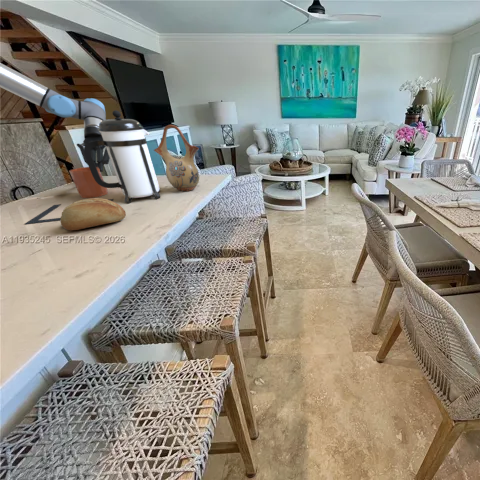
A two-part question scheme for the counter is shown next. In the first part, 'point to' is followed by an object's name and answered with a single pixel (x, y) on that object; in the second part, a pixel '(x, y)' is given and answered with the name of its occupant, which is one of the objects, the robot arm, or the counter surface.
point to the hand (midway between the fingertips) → (97, 178)
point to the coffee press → (126, 158)
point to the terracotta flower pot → (87, 183)
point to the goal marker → (36, 219)
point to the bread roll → (91, 213)
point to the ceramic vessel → (179, 164)
